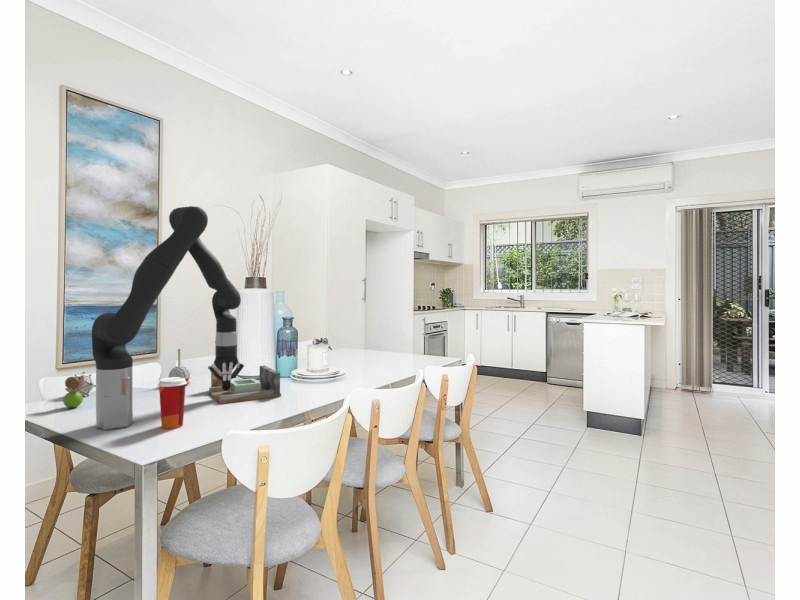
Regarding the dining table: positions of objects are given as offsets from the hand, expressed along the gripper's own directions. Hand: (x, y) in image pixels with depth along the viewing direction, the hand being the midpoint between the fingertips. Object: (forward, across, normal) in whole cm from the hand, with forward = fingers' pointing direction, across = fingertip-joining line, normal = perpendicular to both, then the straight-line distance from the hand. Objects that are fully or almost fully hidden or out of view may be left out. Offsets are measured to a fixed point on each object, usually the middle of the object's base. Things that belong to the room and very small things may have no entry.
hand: (226, 390), depth 172 cm
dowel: (+3, 0, +13) cm, 13 cm away
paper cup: (+3, -22, -27) cm, 35 cm away
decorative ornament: (+3, -11, +30) cm, 32 cm away
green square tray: (+2, +7, 0) cm, 7 cm away
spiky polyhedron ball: (+3, -44, +28) cm, 52 cm away
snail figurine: (+3, -46, +11) cm, 48 cm away
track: (+3, +7, 0) cm, 7 cm away
